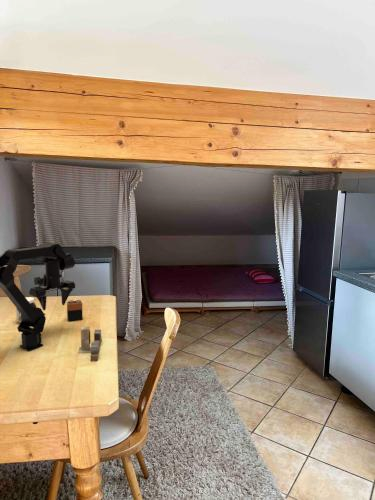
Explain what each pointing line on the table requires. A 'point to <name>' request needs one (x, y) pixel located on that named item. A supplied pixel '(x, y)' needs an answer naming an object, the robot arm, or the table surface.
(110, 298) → the table surface
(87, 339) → the tan wooden block
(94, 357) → the rail
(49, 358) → the table surface
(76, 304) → the battery
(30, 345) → the robot arm
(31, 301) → the spread jar
